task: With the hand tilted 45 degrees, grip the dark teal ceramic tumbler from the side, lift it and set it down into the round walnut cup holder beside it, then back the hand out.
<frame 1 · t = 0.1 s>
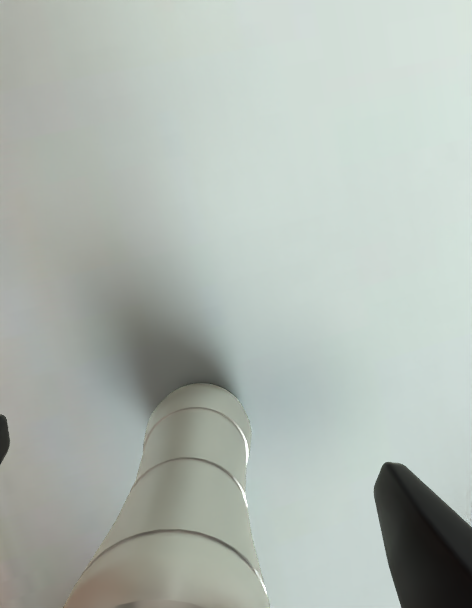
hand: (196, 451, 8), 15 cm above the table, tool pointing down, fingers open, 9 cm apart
plastic bottle: (202, 415, 25), on the table
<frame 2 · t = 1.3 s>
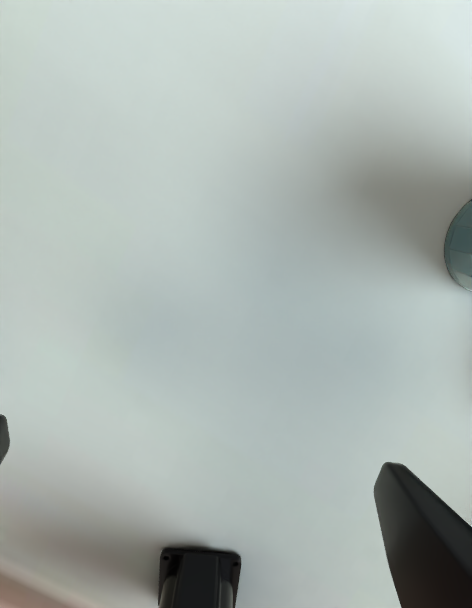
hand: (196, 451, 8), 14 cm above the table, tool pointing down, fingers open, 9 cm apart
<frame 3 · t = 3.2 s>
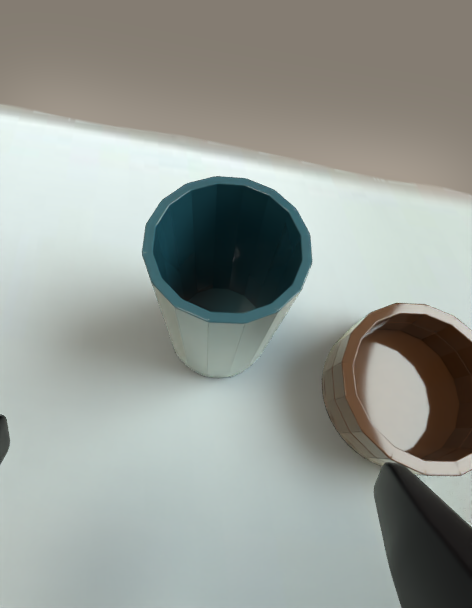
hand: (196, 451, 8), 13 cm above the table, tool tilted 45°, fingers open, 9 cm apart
cup holder: (391, 391, 23), on the table
tumbler: (218, 330, 23), on the table
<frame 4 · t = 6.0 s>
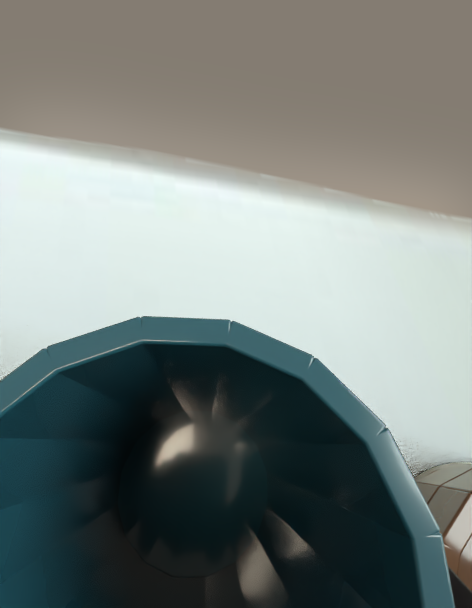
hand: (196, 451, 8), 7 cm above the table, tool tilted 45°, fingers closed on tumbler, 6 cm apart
tumbler: (194, 485, 14), on the table, touching gripper
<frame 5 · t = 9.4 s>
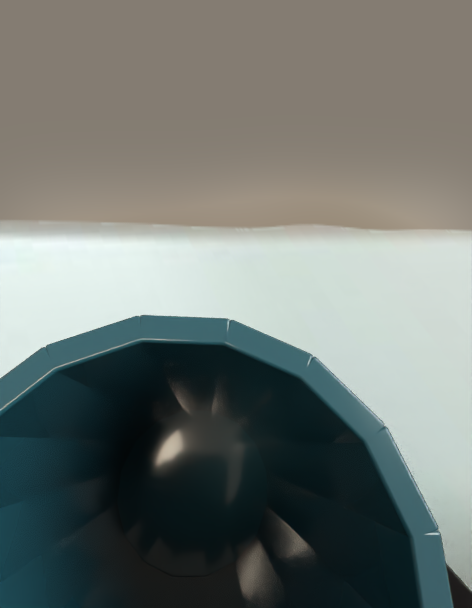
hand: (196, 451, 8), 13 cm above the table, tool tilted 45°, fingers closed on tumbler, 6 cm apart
tumbler: (194, 485, 14), point 7 cm above the table, touching gripper
when the fingers open (7 cm above the table, at t = 12.7 s): tumbler stays where it is, resting on cup holder.
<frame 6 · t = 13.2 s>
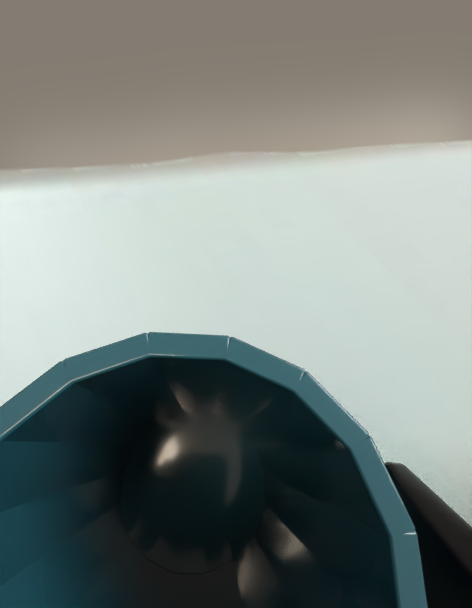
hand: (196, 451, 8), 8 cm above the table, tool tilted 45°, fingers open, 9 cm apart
tumbler: (195, 485, 14), point 1 cm above the table, touching cup holder
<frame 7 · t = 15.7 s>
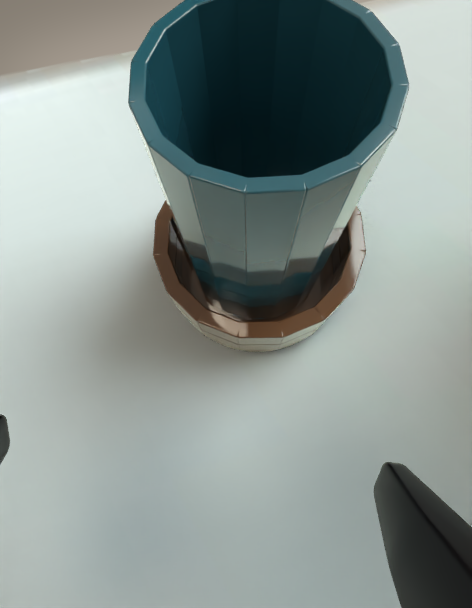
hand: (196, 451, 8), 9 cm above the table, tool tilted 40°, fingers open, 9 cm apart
cup holder: (256, 267, 19), on the table
tumbler: (255, 263, 19), point 1 cm above the table, touching cup holder
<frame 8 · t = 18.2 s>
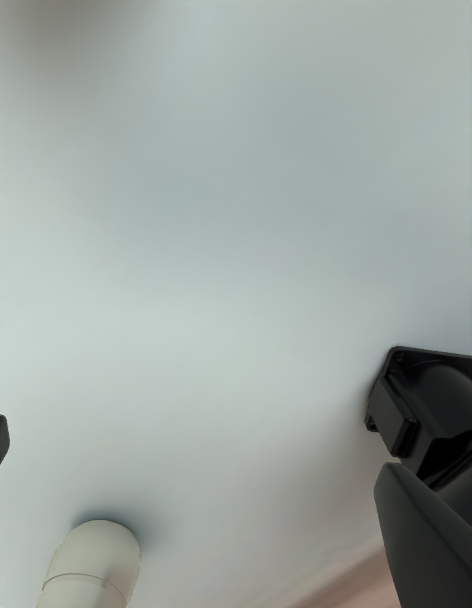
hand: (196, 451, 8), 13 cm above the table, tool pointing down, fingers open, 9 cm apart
plastic bottle: (108, 531, 29), on the table
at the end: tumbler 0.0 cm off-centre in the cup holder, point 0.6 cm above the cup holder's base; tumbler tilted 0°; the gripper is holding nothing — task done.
